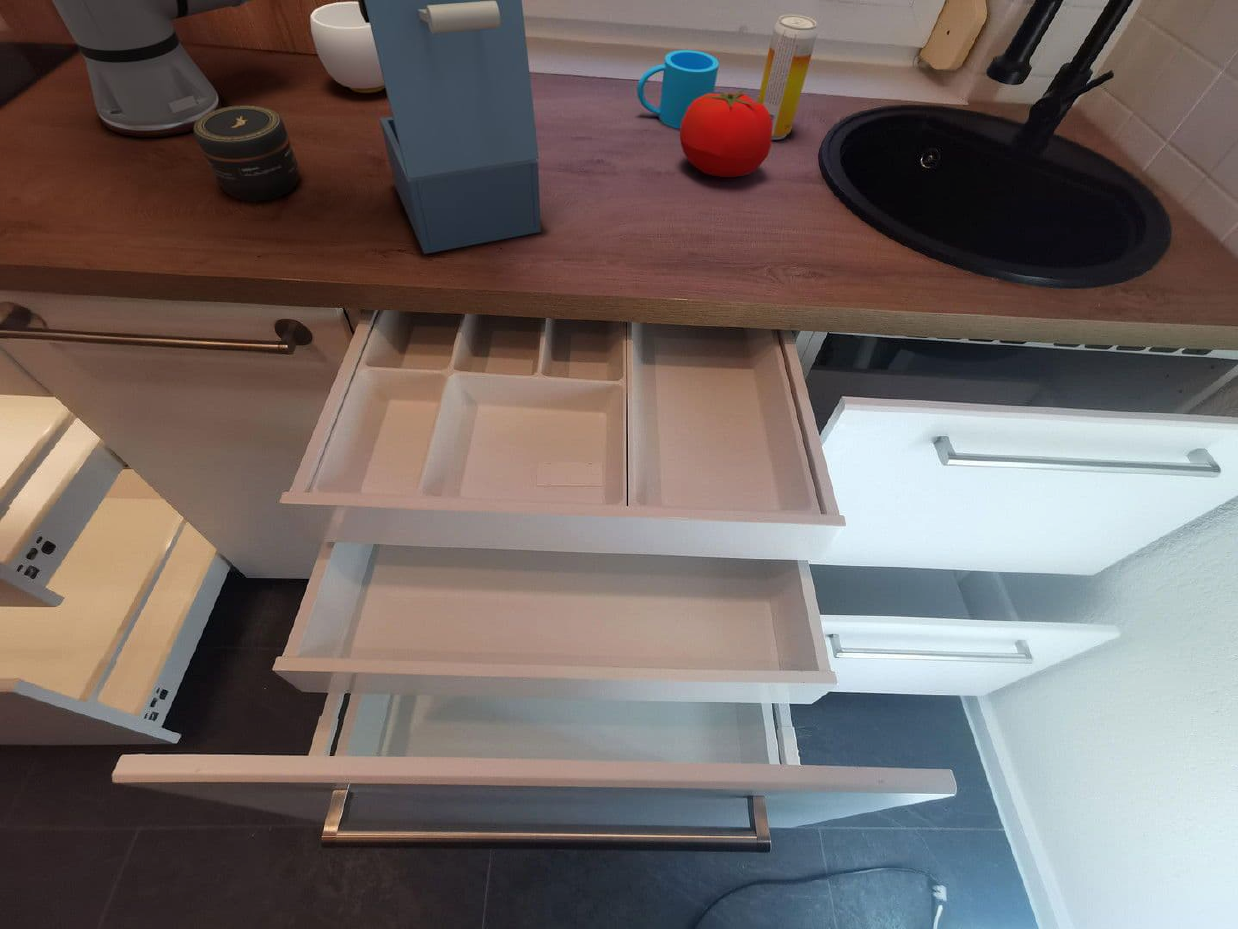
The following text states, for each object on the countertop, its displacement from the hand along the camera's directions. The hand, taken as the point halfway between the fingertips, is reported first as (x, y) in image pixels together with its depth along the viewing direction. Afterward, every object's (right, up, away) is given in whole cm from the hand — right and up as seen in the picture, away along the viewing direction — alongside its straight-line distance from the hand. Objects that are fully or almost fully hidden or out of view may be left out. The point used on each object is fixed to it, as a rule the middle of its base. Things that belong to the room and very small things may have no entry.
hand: (436, 13), depth 62 cm
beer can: (+43, +7, +35) cm, 56 cm away
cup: (-22, +15, +37) cm, 45 cm away
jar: (-28, -9, +18) cm, 34 cm away
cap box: (-1, -13, +17) cm, 21 cm away
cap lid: (+2, -7, 0) cm, 7 cm away
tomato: (+33, -3, +27) cm, 43 cm away
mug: (+27, +10, +37) cm, 46 cm away
